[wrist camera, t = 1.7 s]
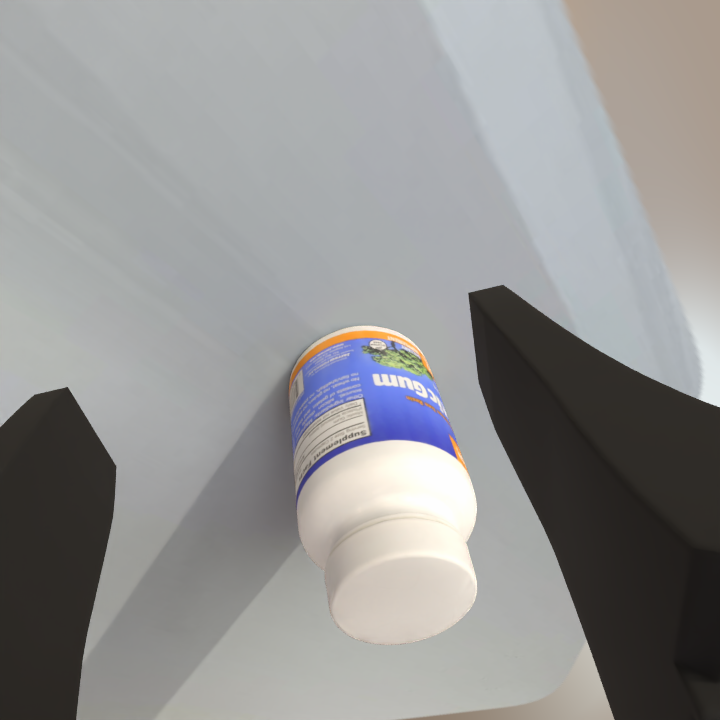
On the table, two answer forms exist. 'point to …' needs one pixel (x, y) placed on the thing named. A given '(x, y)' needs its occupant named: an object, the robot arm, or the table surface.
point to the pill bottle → (381, 487)
